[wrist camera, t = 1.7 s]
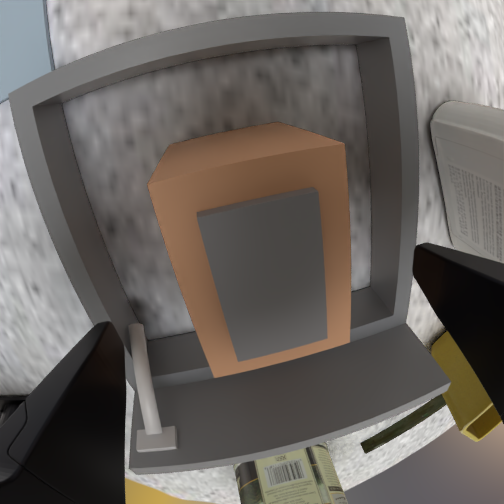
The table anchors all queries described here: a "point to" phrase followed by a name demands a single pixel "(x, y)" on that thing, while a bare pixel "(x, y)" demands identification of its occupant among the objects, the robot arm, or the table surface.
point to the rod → (404, 424)
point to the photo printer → (472, 175)
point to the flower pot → (464, 391)
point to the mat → (23, 44)
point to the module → (258, 242)
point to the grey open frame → (188, 345)
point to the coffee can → (291, 479)
